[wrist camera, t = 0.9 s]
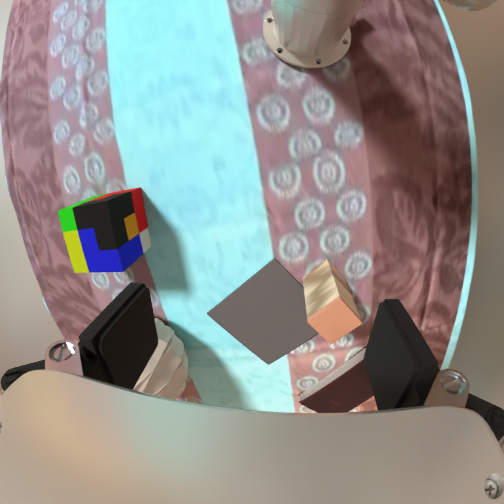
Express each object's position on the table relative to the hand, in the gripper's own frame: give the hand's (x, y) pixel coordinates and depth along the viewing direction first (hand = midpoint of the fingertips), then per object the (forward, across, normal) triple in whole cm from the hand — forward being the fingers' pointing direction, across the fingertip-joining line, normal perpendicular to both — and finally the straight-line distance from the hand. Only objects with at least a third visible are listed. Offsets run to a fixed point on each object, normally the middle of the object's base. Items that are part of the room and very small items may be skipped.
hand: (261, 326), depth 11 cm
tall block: (+31, -8, +13) cm, 35 cm away
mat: (+31, 0, +21) cm, 38 cm away
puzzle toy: (+31, +26, +4) cm, 41 cm away
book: (+32, -18, +38) cm, 53 cm away
